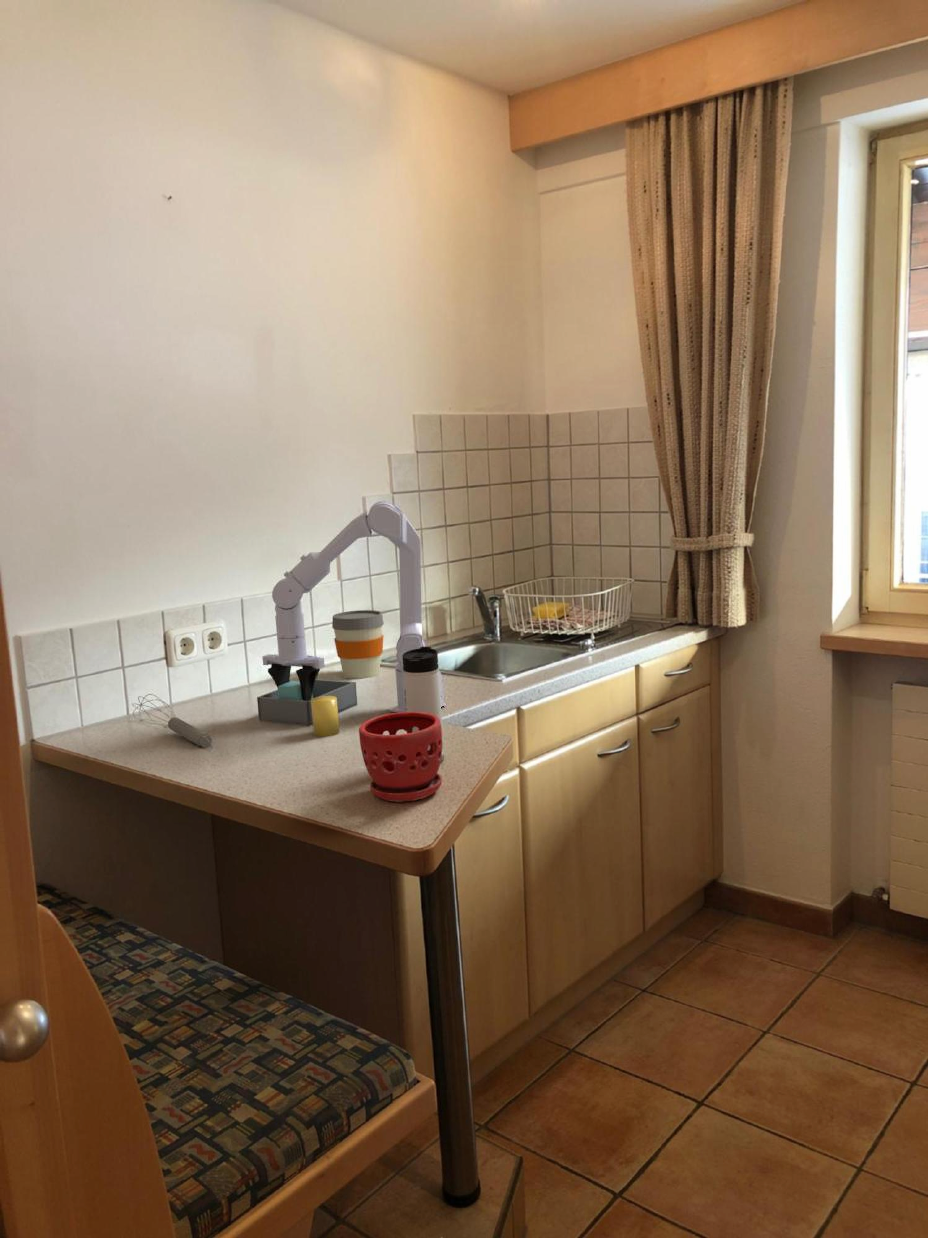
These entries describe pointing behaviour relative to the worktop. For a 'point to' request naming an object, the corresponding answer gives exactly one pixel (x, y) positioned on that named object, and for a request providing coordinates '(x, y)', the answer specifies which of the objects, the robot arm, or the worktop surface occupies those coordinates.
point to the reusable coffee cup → (359, 642)
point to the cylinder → (325, 716)
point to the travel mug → (422, 683)
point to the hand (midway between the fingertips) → (296, 699)
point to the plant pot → (402, 755)
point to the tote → (305, 703)
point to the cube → (290, 691)
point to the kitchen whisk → (181, 727)
